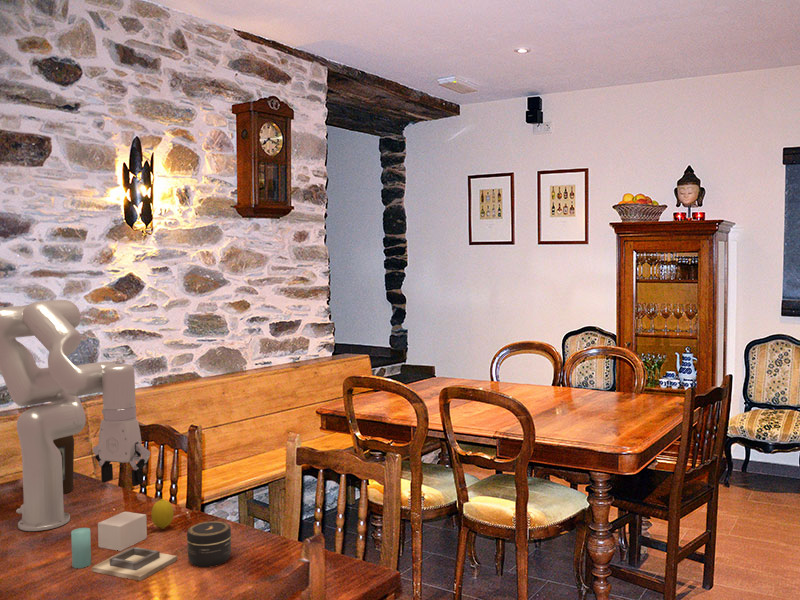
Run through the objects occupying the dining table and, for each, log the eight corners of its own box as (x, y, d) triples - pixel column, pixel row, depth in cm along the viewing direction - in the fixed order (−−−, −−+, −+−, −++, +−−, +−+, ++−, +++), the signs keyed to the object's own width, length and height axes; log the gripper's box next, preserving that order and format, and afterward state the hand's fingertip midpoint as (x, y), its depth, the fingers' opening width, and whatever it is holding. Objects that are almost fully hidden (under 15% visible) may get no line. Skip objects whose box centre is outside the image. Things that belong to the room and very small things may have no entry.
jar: (232, 550, 174) (232, 518, 173) (230, 566, 164) (229, 533, 164) (190, 553, 172) (189, 521, 172) (185, 570, 162) (184, 537, 162)
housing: (98, 547, 176) (97, 523, 176) (125, 534, 185) (124, 511, 184) (120, 551, 174) (119, 526, 173) (146, 538, 182) (146, 514, 182)
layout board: (91, 571, 162) (91, 560, 162) (130, 551, 173) (130, 541, 173) (140, 581, 157) (140, 569, 157) (177, 560, 168) (176, 549, 168)
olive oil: (42, 487, 225) (40, 408, 224) (79, 485, 228) (76, 406, 226) (32, 498, 215) (30, 415, 214) (70, 495, 217) (68, 413, 216)
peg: (68, 566, 165) (67, 532, 164) (82, 560, 168) (81, 526, 168) (81, 569, 163) (80, 534, 163) (95, 562, 167) (94, 528, 167)
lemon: (167, 533, 185) (166, 502, 185) (147, 532, 186) (146, 501, 186) (177, 526, 190) (177, 496, 190) (158, 524, 191) (158, 495, 191)
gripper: (81, 415, 177) (84, 484, 178) (136, 419, 171) (139, 490, 172) (104, 409, 184) (107, 475, 185) (158, 413, 178) (160, 481, 178)
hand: (122, 482), depth 178 cm, fingers open, 9 cm apart
